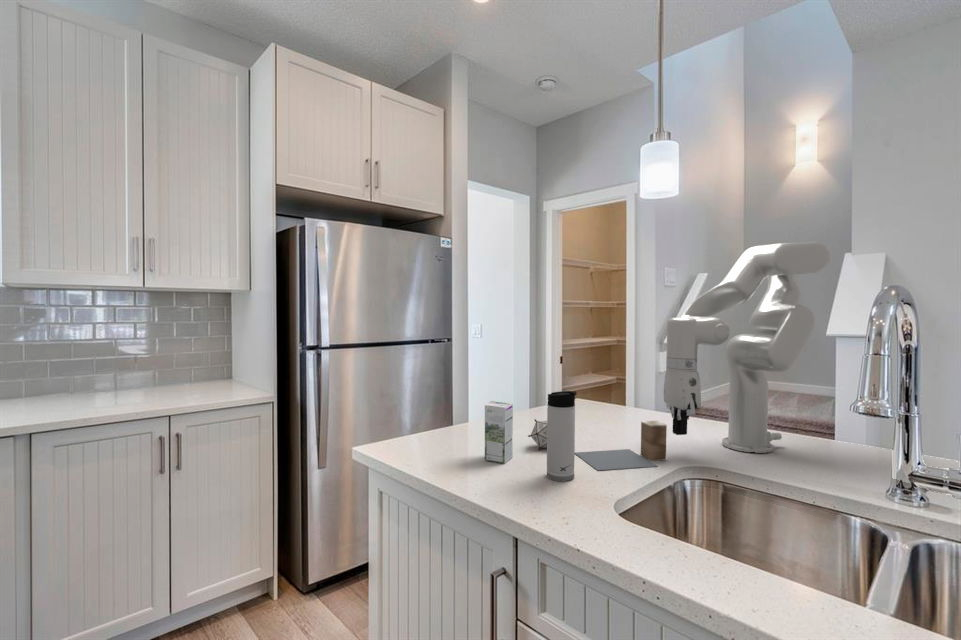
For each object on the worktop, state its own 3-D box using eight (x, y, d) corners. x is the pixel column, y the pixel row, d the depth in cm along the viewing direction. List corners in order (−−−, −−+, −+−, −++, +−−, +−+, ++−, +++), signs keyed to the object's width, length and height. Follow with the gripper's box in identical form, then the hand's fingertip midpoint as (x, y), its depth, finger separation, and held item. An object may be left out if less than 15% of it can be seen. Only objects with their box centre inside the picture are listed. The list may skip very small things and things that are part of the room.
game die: (550, 463, 133) (561, 440, 127) (521, 450, 135) (531, 427, 129) (558, 440, 140) (568, 417, 134) (530, 428, 142) (540, 404, 136)
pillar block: (656, 454, 130) (656, 420, 130) (665, 459, 126) (666, 424, 125) (640, 455, 129) (641, 421, 129) (650, 460, 125) (650, 425, 124)
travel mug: (569, 484, 108) (570, 394, 107) (542, 478, 112) (543, 391, 111) (579, 475, 113) (580, 389, 113) (553, 470, 117) (554, 387, 116)
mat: (629, 449, 134) (629, 449, 134) (657, 466, 120) (657, 465, 120) (574, 453, 130) (574, 452, 130) (597, 471, 116) (597, 470, 116)
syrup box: (513, 457, 126) (513, 401, 126) (504, 464, 121) (505, 406, 120) (493, 454, 129) (493, 400, 128) (483, 461, 123) (484, 404, 123)
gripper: (713, 368, 122) (711, 441, 122) (677, 361, 136) (675, 426, 137) (686, 368, 120) (684, 442, 121) (652, 361, 135) (651, 427, 135)
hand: (679, 433), depth 129 cm, fingers closed
